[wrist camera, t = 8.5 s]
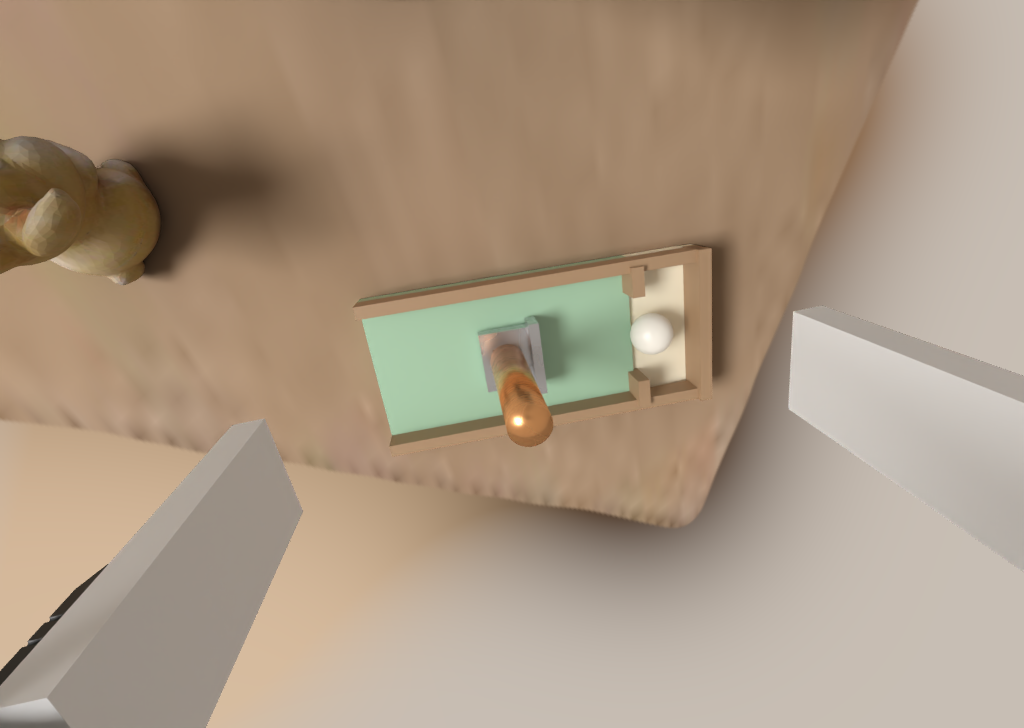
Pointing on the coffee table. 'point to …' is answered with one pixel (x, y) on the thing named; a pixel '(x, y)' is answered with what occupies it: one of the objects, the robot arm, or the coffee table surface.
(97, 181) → the figurine
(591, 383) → the pitch
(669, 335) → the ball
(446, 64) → the coffee table surface
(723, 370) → the coffee table surface
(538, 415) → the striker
